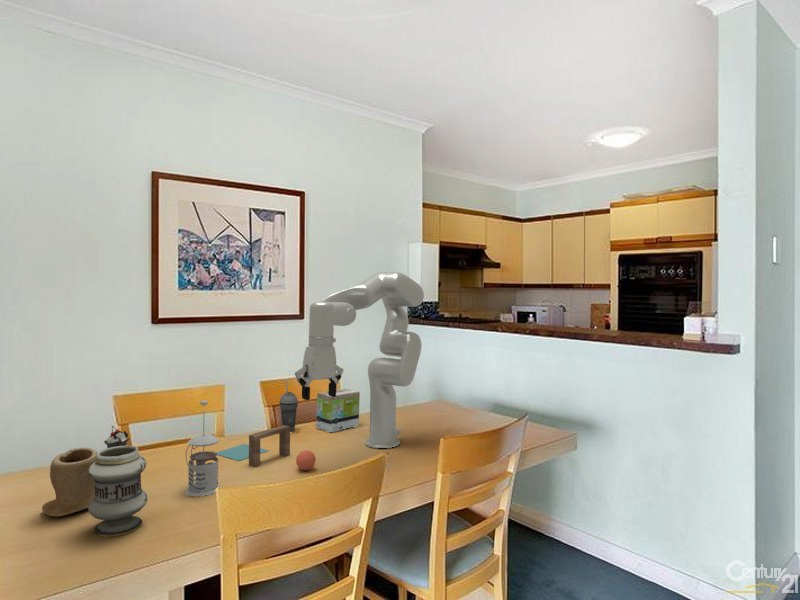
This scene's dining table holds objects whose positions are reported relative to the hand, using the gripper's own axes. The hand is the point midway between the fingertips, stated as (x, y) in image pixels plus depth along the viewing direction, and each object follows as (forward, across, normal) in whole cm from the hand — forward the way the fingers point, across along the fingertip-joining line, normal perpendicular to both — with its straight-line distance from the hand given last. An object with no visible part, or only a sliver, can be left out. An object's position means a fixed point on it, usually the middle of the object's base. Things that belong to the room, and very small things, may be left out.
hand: (319, 397), depth 157 cm
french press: (+24, +32, -10) cm, 41 cm away
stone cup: (+25, +59, -18) cm, 67 cm away
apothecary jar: (+25, +55, 0) cm, 60 cm away
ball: (+20, +2, -4) cm, 20 cm away
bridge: (+23, +5, -19) cm, 30 cm away
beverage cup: (+22, -17, -45) cm, 53 cm away
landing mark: (+23, +9, -33) cm, 41 cm away
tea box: (+22, -36, -37) cm, 56 cm away
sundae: (+24, +46, -38) cm, 65 cm away
